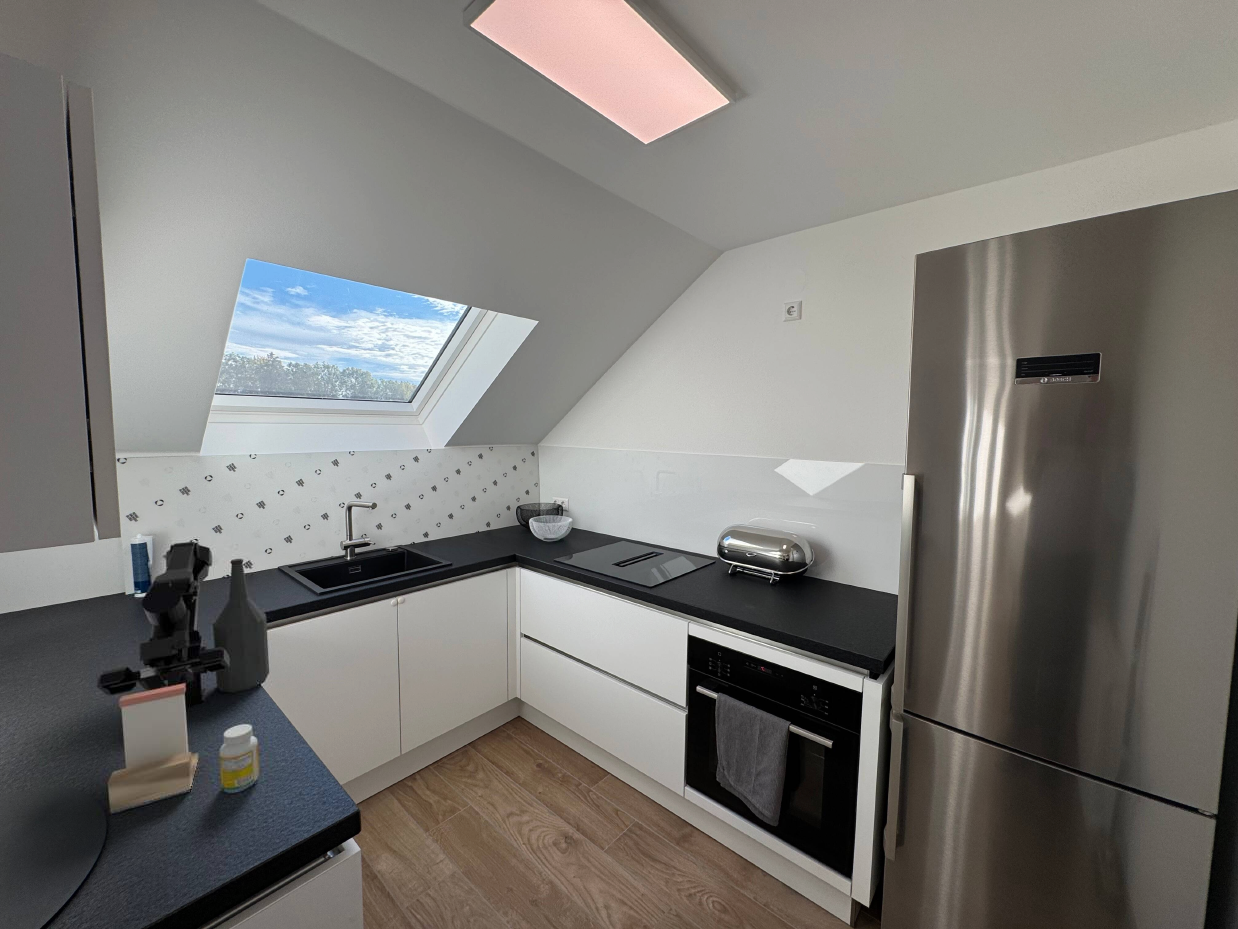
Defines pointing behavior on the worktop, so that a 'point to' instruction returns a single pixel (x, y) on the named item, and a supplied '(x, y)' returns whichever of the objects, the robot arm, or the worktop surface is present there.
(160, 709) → the white red-topped panel
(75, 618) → the worktop surface
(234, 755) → the supplement bottle
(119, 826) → the worktop surface
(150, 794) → the oak key housing
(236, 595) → the bottle
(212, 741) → the worktop surface
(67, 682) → the worktop surface
